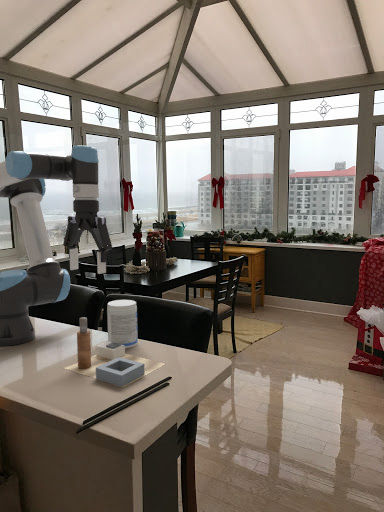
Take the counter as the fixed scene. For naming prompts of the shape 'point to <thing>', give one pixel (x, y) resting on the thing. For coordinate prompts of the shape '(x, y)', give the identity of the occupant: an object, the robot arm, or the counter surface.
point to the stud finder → (110, 350)
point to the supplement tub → (122, 322)
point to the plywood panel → (99, 361)
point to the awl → (83, 345)
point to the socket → (120, 371)
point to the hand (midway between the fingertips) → (87, 271)
